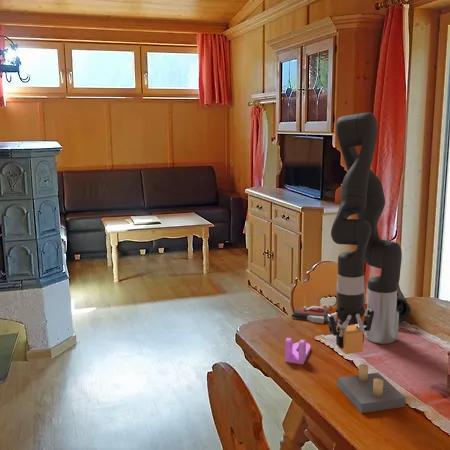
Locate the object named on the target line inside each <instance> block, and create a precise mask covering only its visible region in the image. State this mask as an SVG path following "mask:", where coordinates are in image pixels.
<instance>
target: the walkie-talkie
mask: <svg viewBox="0 0 450 450" xmlns="http://www.w3.org/2000/svg"><path fill="white" fill-rule="evenodd" d="M328 313H329V314H330V311H328V309H327V308H326V309H325V307H324V306H323V305H322V306H320V305H319V306H318V305H311V306H310V307H307V306H306V305H304V306H303V307H302V306H301V307H300V306H296V308H295V310H294V313H293V314H291V318H294V319H295V318H296V319H295V320H303V319H304V320H305V319H306V320H305V321H308V322H310V321H311V323H314V322H315V324H316V323H317V324H324V323H328V321H327V317H326V315H327V314H328ZM304 320H303V321H304ZM338 320H339V319H336V321H335V324H337V323H338Z"/></svg>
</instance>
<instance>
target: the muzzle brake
mask: <svg viewBox="0 0 450 450" xmlns="http://www.w3.org/2000/svg"><path fill="white" fill-rule="evenodd" d="M396 311H397V312H398V313H399V323H402V322H404V321H406V320H407V319H408V318H409V317H410V314H411V307H410V305H409V302H408V301H407V299H406V297H405V295H404V293H403V292H402V289H401V288H400V285H399V284H398V286H397V307H396Z"/></svg>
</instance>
